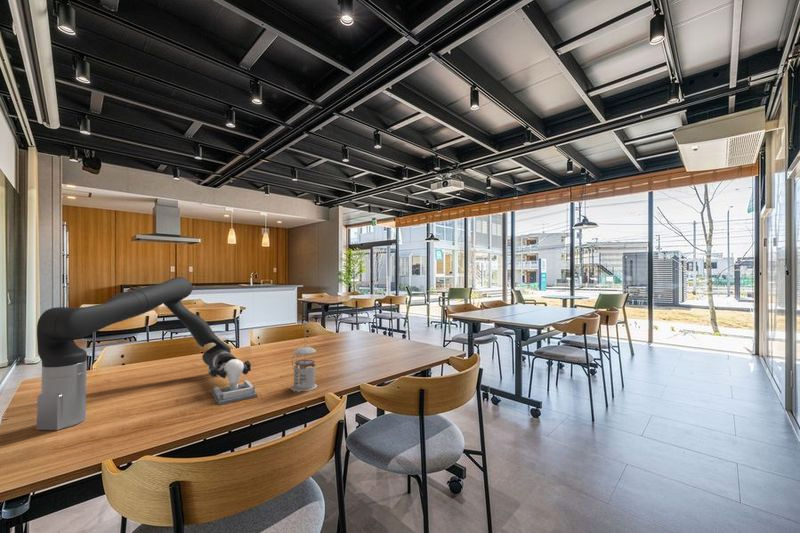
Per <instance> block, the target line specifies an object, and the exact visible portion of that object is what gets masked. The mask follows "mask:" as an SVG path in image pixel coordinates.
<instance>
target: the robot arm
mask: <svg viewBox="0 0 800 533" xmlns="http://www.w3.org/2000/svg"><path fill="white" fill-rule="evenodd" d="M192 292H193V284H192V282H191V281H190V280H189V279H188V278H186V277H183V276H182V277H181V276H176V277H172V278H171V279H169V280H166V281H164V282H161V283H158V284H153V285H147V286H143V287H139V288H134V289H131V290H127V291H122V292H119V293H118V294H115V295H114V296H112V297H111V298H110V299H108V301H106V302H104V303H100V304H95V305H90V306H83V307H82V306H80V307H78V306H77V307H76V306H74V307H71V306H69V307H66V306H65V307H64V306H60V307H59V306H58V307H57V306H55V307H52V308H49V309H46V310H45V311H44V312H42V314H40V316H39V318H38V322H37V324H36V342H37V344H36V345H37V354H38V357H39V358H40V360H41V392H40V394H38V395H37V397H36V430H37V431H59V430H60V431H61V430H62V429H65V428H69V427H72V426H75V425H76V426H77V425H78V424H80V423H82V422H84V421H85V420H86V419H87V418H86V417H87V370H88V368H87V367H88V366H87V364H88V355H87V354H88V352H87V350H85V349H83V348H82V347H80V346H78V344H76V342H75V341H76V340H79V339H83V338H85V337H86V338H87V337H89V336H90V335H92V334H94V333H96V332H99V331H100V330H102V329H105V328H106V327H109V326H111V325H115V324H117V323H121V322H123V321H127V320H129V319H132V318H135V317H139V316H141V315H144V314H146V313H148V312H150V311H152V310H154V309H156V308H158V307H160V306H161V305H163V304H164V306H165V307H167V309H168V310H169V311H170V312H171V313H172V314H173V315H174V316H175V317H176V319H178V320H179V322H181V323H182V325H184V327H185V328H186V329H187V330H188V331H189V334H190V335H191V336H192V337H193V339H194V340H195V342H196V343H197V345H199V346H200V347H202V346H203V347H204V346H205V345H208V344H211V343H213V344H215V345H213V346H211V347H210V348H209V349H207V350H205V351H204V352H203V354H202V360H203V362H204V363H205V365H206V366H208V375H210V376H211V377H213V378H216V377H217V376H218V377H219V378H222V379H226V377H227V376H226V371H224V367H225V364H226V363H227V362H228V361H230V360H232V359H238V358H237V357H235V355H234V354H232V353H231V348H230V346H229V345H228V344H227V343H225V342H224V341H222V339H220V338H219V337H218V336H217V335H216V333H215V332H214V331H213V329H212V327H211V326H210V325H209V324H208V322H207V321H206V320H205V319H204V318H203V317H201V316H199V315H197V314H196V313H193V312H192V311H190V310H189V309H188V308H186V306H185V305H183V303H182V300H185V299H186V298H187V297H189V296H190V295H191V294H192ZM242 363H243V362H242ZM243 365H244V370H243V372H242V374H243V375H248V373H249V372H251V371H252V369H251V367H252V366H251V365H252V364H251V362H250V361H249V360H245V361H244V363H243Z"/></svg>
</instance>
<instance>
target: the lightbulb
mask: <svg viewBox="0 0 800 533" xmlns="http://www.w3.org/2000/svg"><path fill="white" fill-rule="evenodd" d="M243 370H244V365H243V361H242V360H241V359H238V358H237V359H232V360H230V361H228V362H227V363H226V364H225V367H224V371H226V377H227V378H228V379H227V380H228V382H229V387H230V390H232V391H234V390H236V389H238V385H239V382H240V381H239V380H240V377H241V375H242V374H243V373H242V372H243Z"/></svg>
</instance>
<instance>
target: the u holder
mask: <svg viewBox="0 0 800 533" xmlns="http://www.w3.org/2000/svg"><path fill="white" fill-rule="evenodd" d="M255 390H256V388H255V386H254V385H253V384H252V383H251V382H250V381H249V380H248V379H246V380H244V381H243V383H241V384H238V389H236V390H234V391H232V390H230V386H226V387H221V388H220V387H219V386H218V385H214V386H213V389H211V390H210V393H211V395H212V396H213V398H214V399H215V401H216V402H217V404H218V406H221V405H226V404H231V403H234V402H235V403H236V402H239V401H244V400H248V399H253V398H258V393H257V392H256V391H255Z"/></svg>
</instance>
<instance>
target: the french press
mask: <svg viewBox="0 0 800 533" xmlns="http://www.w3.org/2000/svg"><path fill="white" fill-rule="evenodd" d="M302 325H303V326H304V342H306V341H307V340H306V339H307V338H306V331H307V329H306V328H307V327H306V326H308V325H309V323H308V321H305V320H304V321H302ZM316 352H317V350H316V349H315V348H313V347H310V346H306V345H304V346H302V347H298V348H297V349H296V350H294V351H293V353H294V355H293V357H292V360H291V365H292V369H293V375H294V376H293V386H292V387H291V388H290V390H291V391H292V390H293V392H295V391H297V392H296V393H301V392H300V391H309V390H313V389H315V388H316V387H317V386H318V385H317V383H316V364H314V363H315V360H313V359H309V358H308V359H299V360H297V359H298V358H300V357H301V356H306V355H307V356H308V355H313V354H316ZM295 356H296V357H295ZM294 357H295V362H294ZM294 364H295V365H294ZM315 390H316V389H315ZM313 391H314V390H313ZM309 392H310V391H309Z"/></svg>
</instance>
